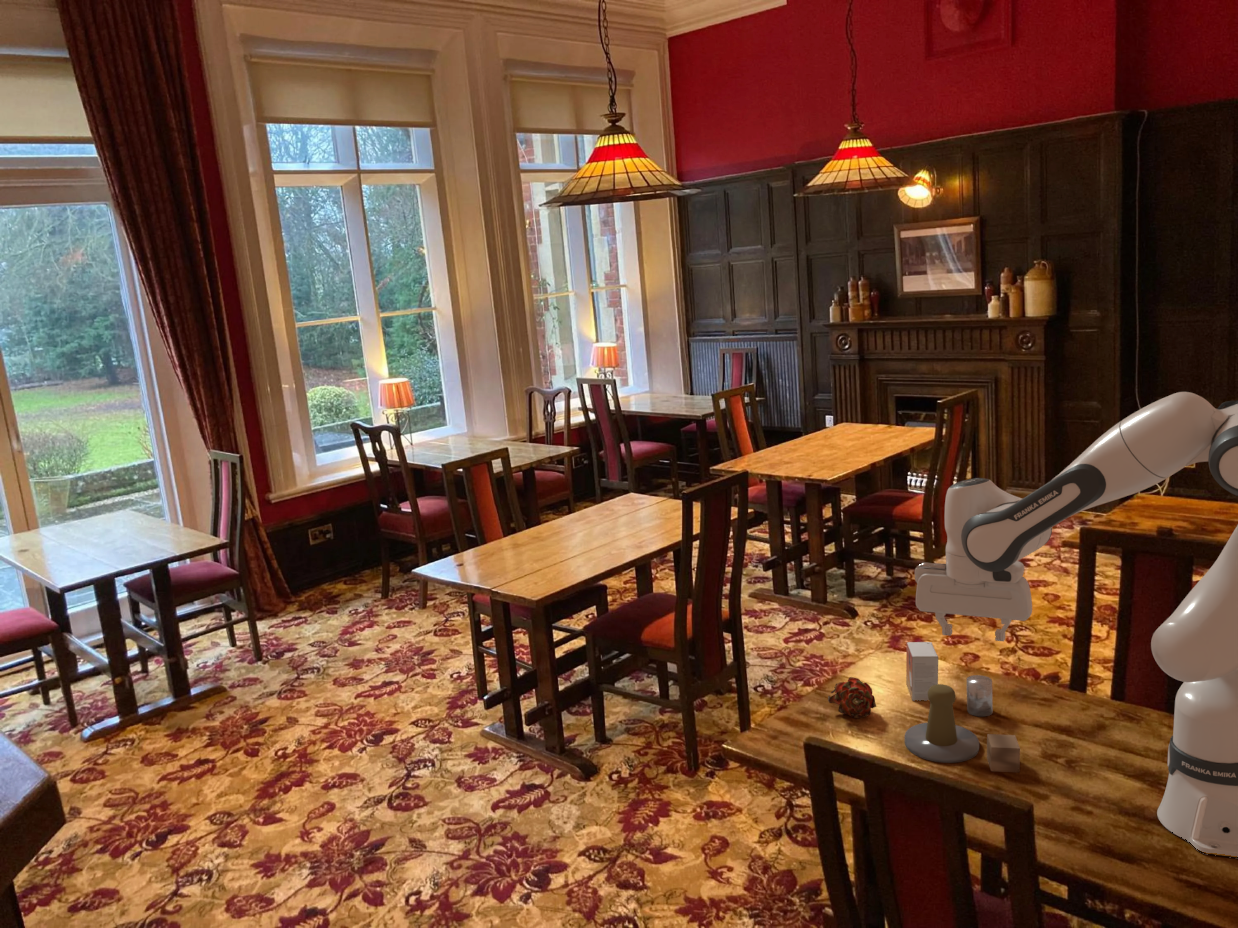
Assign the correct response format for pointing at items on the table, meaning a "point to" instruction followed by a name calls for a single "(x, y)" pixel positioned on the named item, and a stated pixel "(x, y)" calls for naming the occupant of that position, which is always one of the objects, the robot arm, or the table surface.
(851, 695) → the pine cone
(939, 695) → the cork
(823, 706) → the table surface
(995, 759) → the light brown cube
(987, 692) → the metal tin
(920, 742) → the smooth pebble
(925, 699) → the small box
